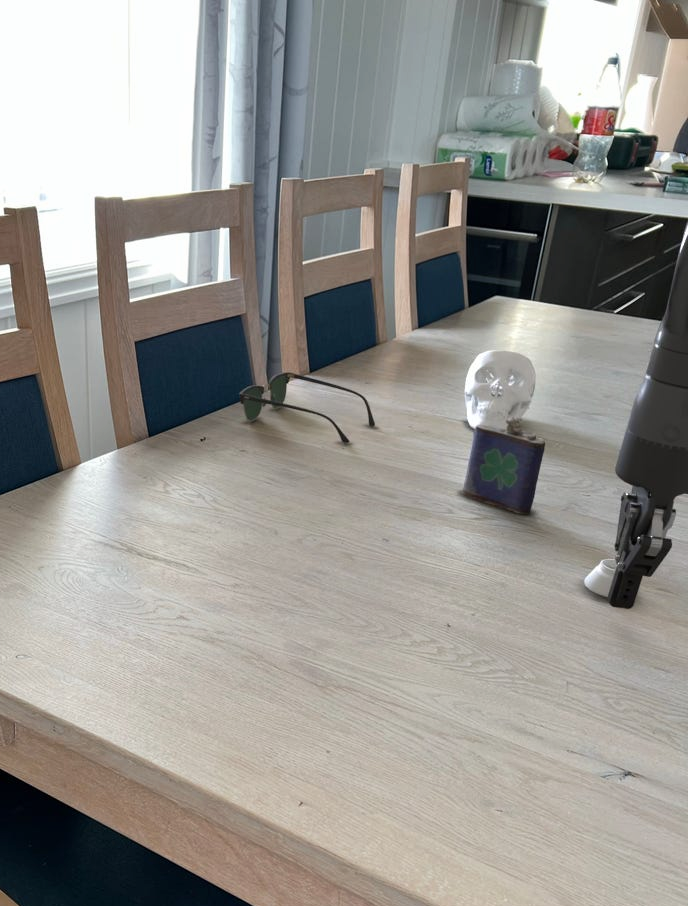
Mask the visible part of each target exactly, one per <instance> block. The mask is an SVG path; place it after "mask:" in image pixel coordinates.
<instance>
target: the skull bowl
mask: <svg viewBox="0 0 688 906" xmlns="http://www.w3.org/2000/svg"><path fill="white" fill-rule="evenodd" d="M536 372H537V371H536V369H535V368H534V365H533V363H532V360H531V359H530V358H529V357H528V356H526V355H524V354H522V353H520V352H518V351H512V350H504V349H492V350H488V351H484V352H482V353H480V354H479V355H477V356H476V358H475V359H474V361H473V363H471V365H470V367H469V370H468V372H467V375H466V379H465V387H464V400H465V408H466V413H467V414H466V415H467V416H466V417H467V422H468V424H469V426H470V427H471V428H472V429H474V430H475V427H476V426H477V425H479V424H486V425H493V426H496V427H500V428H504V429H507V425H508V424H507V423H506V419H508V420H510V419H512V418H513V417H514V418H515V419H516V418H522V417H523V416H524V415H525V414H526V413H527V411H528V410H529V409H530V406H531V403H532V401H533V397H534V393H535V390H536V383H537V382H536V381H537V373H536Z"/></svg>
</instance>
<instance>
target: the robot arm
mask: <svg viewBox="0 0 688 906" xmlns="http://www.w3.org/2000/svg"><path fill="white" fill-rule="evenodd" d="M681 239H682V240H681V242H680V247H679V250H678V255H677V260H676V263H675V267H674V272H673V277H672V282H671V286H670V290H669V294H668V295H669V296H668V300H667V306H666V310H665V313H664V314H663V316H662V318H661V321H660V323H659V326H658V328H657V331H656V334H655V338H654V341H653V343H652V348H651V351H650V354H649V358H648V362H647V364H646V368H645V373H644V375H643V378H642V381H641V383H640V385H639V388H638V390H637V391H636V392H637V393H636V395H635V397H634V400H633V403H632V407H631V410H630V414H629V418H628V421H627V425H626V428H625V432H624V435H623V439H622V442H621V446H620V450H619V452H618V457H617V460H616V463H615V467H614V471H615V474H616V476H617V477H618V478H619V479H620V480H621V481H623V482H624V483H626V484H627V485H630V486H632V487H631V492H626V491H624V492H623V493H622V495H621V497H620V507H619V515H618V524H617V530H616V536H615V542H614V551H615V552H617V553H616V555H615V557H614V559H615V560H616V564H618V566H617V567H616V570H615V573H614V577H613V580H612V583H611V587H610V590H609V594H608V598H607V599H608V603H609V605H610V607H613V608H616V609H617V608H618V609H625V610H630V609H632V608H633V607H634V606H635V603H636V599H637V597H638V593H639V590H640V586H641V584H642V581H643V577H647V578H651V577H652V576H653V575H654V573H655V572H656V570H657V569H658V568H659V566H660V565H661V564H662V562H663V561H664V560H665V558H666V557H667V555H668V554H669V553H670V551H671V550H672V548H673V540H672V538H668V537H667V534H668V531H669V530H670V529H672V527H673V525H674V523H675V519H676V517H677V509H676V508H674V505H675V501H674V500H675V499H676V498H677V497H679V496H682V495H688V221H687V222H686V225H685V228H684V231H683V234H682V237H681Z"/></svg>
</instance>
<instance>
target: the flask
mask: <svg viewBox="0 0 688 906" xmlns="http://www.w3.org/2000/svg"><path fill="white" fill-rule="evenodd" d="M520 421H523V418H522V417H521V418H516V419H515V418H514V417H513V418H512V419H510V420H508V419H506V423H507V424H508V425H507V429H504V428H500V427H496V426H493V425H486V424H479V425H477V426H476V427H475V429H474V430H473V437H472V443H471V448H470V454H469V458H468V463H467V469H466V474H465V477H464V481H463V487H462V494H463V495H465V496H466V497H468V498H470V499H476V500H478V501H481V502H483V503H486V504H488V505H494V506H498V507H499V508H503V509H506V510H508V511H512V512H514V513H515V514H522V515H528V514H531V511H532V507H533V503H534V499H535V496H536V490H537V485H538V480H539V474H540V471H541V466H542V462H543V457H544V453H545V449H546V448H545V447H546V442H545V440H544V439H543V438H540V437H537V435H536V433H532V432H529V434H528V433H527V431H525V430H524V428H523V426H521V425H519V423H520Z"/></svg>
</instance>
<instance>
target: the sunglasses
mask: <svg viewBox="0 0 688 906" xmlns="http://www.w3.org/2000/svg"><path fill="white" fill-rule="evenodd" d="M290 379H296V380H301V381H306V382H310V383H312V384H313V383H314V384H318V385H321V386H326V387H330V388H334V389H338V390H341V391H343V392H344V391H345V392H348V393H351V394H354V395H355V396H357V397H359V398H360V399H361V400H363V402H364V404H365V408H366V411H367V416H368V426H370V427H371V428H374V427H375V426H376V422H375V420H374V416H373V414H372V413H373V412H372V410H371V407H370V404H369V402H368V399H366V397H365V396H363V394H361V393H359V392H357V391H356V390H352V389H350V388H347V387H344V386H341V385H338V384H334V383H330V382H327V381H324V380H320V379H317V378H312V377H309V376H306V375H301V374H297V373H294V372H291V371H285V372H280V373H277V374H275V375H273V376H272V377H271V378H270V379H269V381H268V383H264V384H263V385H256V384H255V385H250V386H248V387H246V388H244V389H243V390H241V391H240V392H239V393H238V397H239V401H240V402H239V403H240V404H241V405H242V408H243V413H244V416H245V419H246V420H247V421H248V422H253V421H255V420H257V418H259V416H260V415H261V412H262V408H264V407H266V404H267V405H271V407H272V408H273V409H274V410H277V409H279V408H281V407H282V408H285V409H291V410H296V411H299V412H304V413H309V414H313V415H317V416H320V417H322V418H324V419H326V420H328V421H329V422H330V423H331V424H332V425H333V427H334V428H335V430H336V432H337V434H338V435H339V439H340V440H341V442H342V443H344V444H349V443H350V439H349V438H348V437H347V436H346V434H345V433H343V431H342V430H341V428H340V427H339V426H338V425H337V424H336V422H335V421H334V420H333V419H332V418H330V416H327V415H326V414H323V413H321V412H319V411H318V412H317V411H315V410H311V409H308V408H304V407H300V406H297V405H292V404H288V403H285V400H286V397H287V388H288V387H287V386H288V384H289V383H290ZM265 388H268V391H269V398H270V399H267V398H265V397H264V398H263V395H264V393H265Z"/></svg>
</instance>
